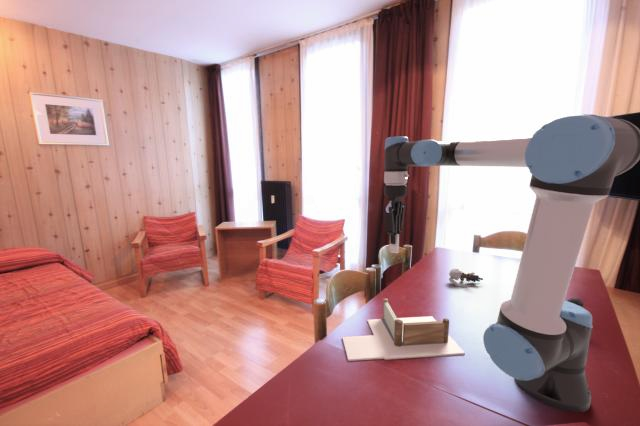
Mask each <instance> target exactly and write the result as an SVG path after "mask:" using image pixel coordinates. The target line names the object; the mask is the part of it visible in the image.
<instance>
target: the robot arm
mask: <svg viewBox="0 0 640 426" xmlns="http://www.w3.org/2000/svg"><path fill="white" fill-rule="evenodd" d="M383 153H384V166H383V167H384V173H383V174H384V175H383V176H384V177H383V183H384V184H385V185H383V195H384V196H385V197H387V202H386V204H387V205H386V206H383V212H384V219H385V229H386V234H387V235H389V253H392V254H398V253H400V235H402V234H403V225H404V217H405V209H406V207H407V206H406V205H407V204H406V203H405V202H404V201H403V200H404V199H403V197H406V196H407V195H408V185H407V183H408V177H409V176H410V175H409V174H408V170H409V167H423V168H424V167H434V166H435V167H437V166H439V167H441V166H450V167H451V166H453V167H454V166H455V167H457V166H458V167H459V166H460V167H461V166H466V167H468V166H469V167H471V166H472V167H508V168H509V167H511V168H512V167H514V168H516V167H517V168H519V167H521V168H528V170H529V173H530V174H531V177H530V182H529V188H530V189H531V190H532V191H533V193H534V194H535V202H534V205H533V209H532V213H531V215H530V221H529V226H528V229H527V233H526V237H525V242H524V244H523V245H524V246H523V249H522V254H521V258H520V261H519V264H518V269H517V273H516V277H515V281H514V285H513V289H512V292H511V298H510V299H508V300H505V301H503V302H502V303H501V304H500V307H499V312H498V316H497V320H496V322H495V323H491V324H490V325H489V326H488V327H487V328H486V329H485V330H484V333H483V336H482V337H483V346H484V349H485V351H486V353H487V354H488V356H489V358H490V359H491V361H492V362H493V364H495V366H496V367H497V368H499V370H501V371H502V372H503V373H504V374H506V375H508V376H509V377H511V378H513V379H514V381H515V383H516V384H517V386H518V387H519V388H520V390H522V391H523V392H524V393H526V395H527V396H529V397H531V399H534V400H535V401H537V402H539V403H540V404H543V405H546V406H547V407H550V408H553V409H557V410H558V411H559V410H560V411H564V412H570V413H577V412H578V413H580V412H582V413H586V412H587V411H588V410H589V409H590V406H591V402H592V393H591V390H590V387H589V383H588V379H587V376H586V364H587V359H588V352H589V346H590V341H591V335H592V329H593V328H594V326H593V315H592V314H591V312H590V311H589V310H588V309H585V308H584V306H583V307H581V306H578V305H576V304H574V303H571V302H568V300H566V297H567V293H568V290H569V287H570V284H571V280H572V277H573V274H574V271H575V267H576V264H577V260H578V257H579V254H580V250H581V248H582V244H583V240H584V238H585V234H586V231H587V228H588V224H589V221H590V218H591V214H592V212H593V209H594V205H595V204H596V203H597V202H600V201H601V200H604V199H606V198H608V197H609V195H610V193H611V190H612V186H613V183H614V179H615V177H617V176H619V175H622V174H623V173H625V172H627V171H629V170H631V169H632V168H633V167H634V166H635V165H636V164H637V163H638V162H639V161H640V128H639V127H637V126H636V125H635V124H633V122H631V121H628V120H625V119H623V118H616V117H607V116H603V115H602V116H601V115H597V114H590V113H589V114H587V113H586V114H585V113H581V114H569V115H564V116H560V117H556V118H554V119H552V120H550V121H548V122H547V123H545V124H544V125H542V126H541V127H540V128H538V129H537V130H536V131H535V132H534V134H532V135H525V136H524V135H523V136H521V135H520V136H510V137H496V138H495V137H494V138H482V139H469V140H465V139H464V140H451V141H450V140H448V141H443V140H442V141H438V140H435V139H421V140H416V141H415V140H414V141H409V137H408V136H403V135H402V136H401V135H400V136H396V135H395V136H389V137H386V138H385V141H384V152H383Z"/></svg>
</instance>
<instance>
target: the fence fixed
mask: <svg viewBox="0 0 640 426" xmlns="http://www.w3.org/2000/svg"><path fill="white" fill-rule="evenodd" d="M449 330H450V320H449V318H443V319H442V320H436V321H432V322H415V323H403V321H402V320H399V319H397V320H395V329H394V345H395V346H398V347H400V346H402V333H403V344H404V345H409V344H424V343H440V342H444V343H448V334H449Z"/></svg>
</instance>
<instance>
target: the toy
mask: <svg viewBox="0 0 640 426" xmlns="http://www.w3.org/2000/svg"><path fill="white" fill-rule="evenodd" d="M475 274H476V273H475V272H473V271H471V272H468V273H467V274H466V273H465V272H463V271H461V270H460V269H459V268H452V269H450V271H449V273H448V276H449V278H448V280H449V281H448V282H450V283H452V284H453V285H454V286H455V287H457V288H469V287H474V286H475V284H469V285H468V284H467V285H465V284H461V283H458V282H456V281H458V280H460V281H463V282H464V281H466V282H473V283H475V282H481V281H483V280H484V278H482V277H480V276H479V275H475Z"/></svg>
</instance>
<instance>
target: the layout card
mask: <svg viewBox="0 0 640 426" xmlns="http://www.w3.org/2000/svg"><path fill="white" fill-rule="evenodd" d="M397 319H399V320H402V321H403V323H415V322H432V321H437V320H436V319H435V318H434V317H433V315H431V316H411V317H397ZM366 322H367V323H368V326H369V328H370V330H371V333H372V334H371V335H370V334H369V335H357V336H356V335H354V336H353V335H352V336H342V338H341V339H342V343H343V345H344V350H345V354H346V359H347V361H348V362H350V361H351V362H353V361H355V362H356V361H366V360H368V361H369V360H383V359H384V360H385V361H388V360H400V359H401V360H402V359H415V358H429V357H445V356H447V357H449V356H461V355H465V354H466V353H465V351H464V350H463V349H462V348H461V347H460V345H459V344H458V343H457V342H456V341H455V340H454V338H452V337H451V336H450V334H449V333H448V343H444V342H440V343H424V344H409V345H404V344H403V333H402V346H400V347H398V346H395V345H394V338H393V336H392V334H391V332H390V330H389V327H388V325H387V323H386V321H385V319H384V318H373V319H367V321H366Z"/></svg>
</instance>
